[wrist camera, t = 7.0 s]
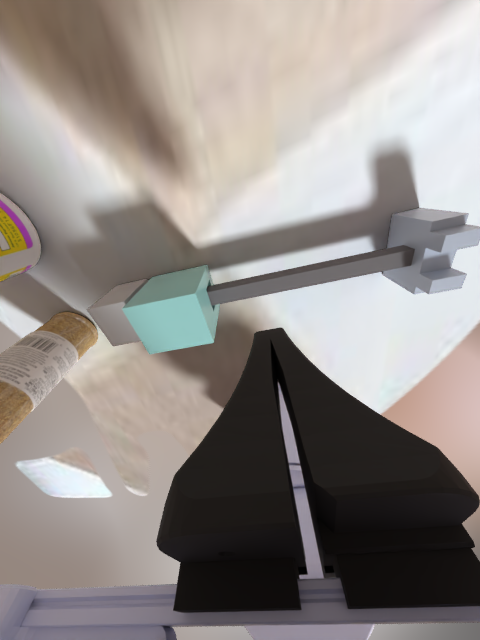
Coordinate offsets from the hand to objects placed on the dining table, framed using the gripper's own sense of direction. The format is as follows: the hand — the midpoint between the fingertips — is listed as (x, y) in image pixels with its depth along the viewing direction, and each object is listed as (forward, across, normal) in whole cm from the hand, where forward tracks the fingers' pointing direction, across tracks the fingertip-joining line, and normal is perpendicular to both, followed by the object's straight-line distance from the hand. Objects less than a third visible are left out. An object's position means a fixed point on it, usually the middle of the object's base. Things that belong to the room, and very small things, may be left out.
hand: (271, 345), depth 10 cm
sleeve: (+10, +6, 0) cm, 12 cm away
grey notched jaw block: (+10, -12, 0) cm, 16 cm away
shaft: (+8, 0, 0) cm, 8 cm away
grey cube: (+10, +11, 0) cm, 15 cm away
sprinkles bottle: (+10, +20, +2) cm, 22 cm away
